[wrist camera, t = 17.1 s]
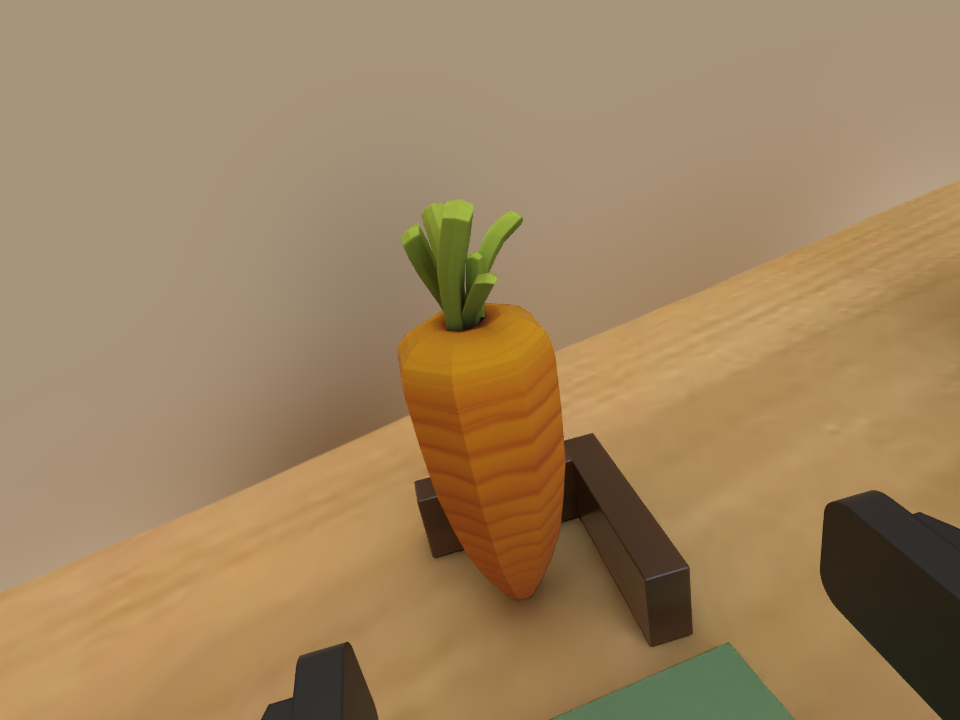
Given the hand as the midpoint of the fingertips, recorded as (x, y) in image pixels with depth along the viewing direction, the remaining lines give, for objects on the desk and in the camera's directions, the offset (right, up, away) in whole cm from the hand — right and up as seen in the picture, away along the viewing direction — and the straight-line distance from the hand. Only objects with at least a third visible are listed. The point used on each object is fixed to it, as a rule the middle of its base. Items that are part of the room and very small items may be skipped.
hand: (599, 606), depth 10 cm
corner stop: (0, -5, +13) cm, 14 cm away
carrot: (0, -5, +13) cm, 14 cm away
